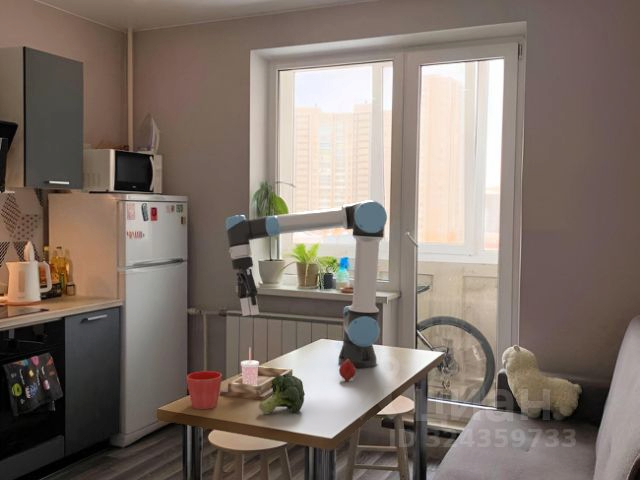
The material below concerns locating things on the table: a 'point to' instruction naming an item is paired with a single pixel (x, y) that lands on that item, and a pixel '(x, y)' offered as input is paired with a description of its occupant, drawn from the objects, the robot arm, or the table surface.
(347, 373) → the pomegranate
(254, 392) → the light brown wooden tray
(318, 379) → the table surface
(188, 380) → the flower pot
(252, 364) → the beverage cup
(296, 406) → the vegetable
